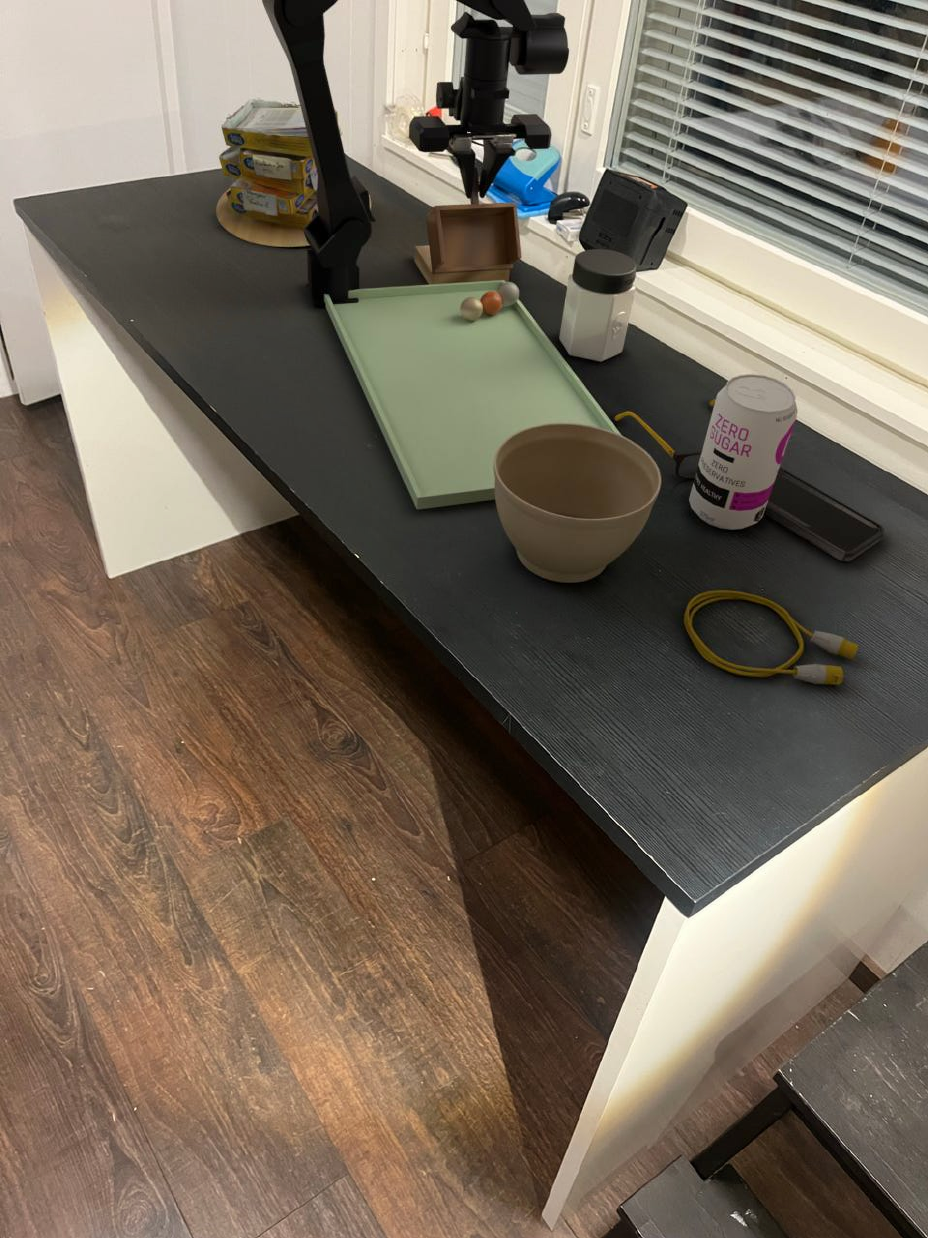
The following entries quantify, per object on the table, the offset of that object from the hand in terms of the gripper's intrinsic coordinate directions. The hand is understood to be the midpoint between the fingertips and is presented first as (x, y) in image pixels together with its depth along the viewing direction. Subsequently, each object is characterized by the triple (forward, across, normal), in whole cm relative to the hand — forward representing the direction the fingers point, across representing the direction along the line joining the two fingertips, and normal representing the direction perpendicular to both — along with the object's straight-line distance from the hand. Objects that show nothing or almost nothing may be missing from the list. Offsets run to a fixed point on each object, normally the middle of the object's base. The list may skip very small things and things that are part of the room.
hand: (474, 197), depth 134 cm
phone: (+12, -19, +63) cm, 67 cm away
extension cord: (+12, -3, +80) cm, 81 cm away
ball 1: (+10, +4, +12) cm, 16 cm away
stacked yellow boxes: (+13, +21, -28) cm, 37 cm away
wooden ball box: (+5, 0, -2) cm, 5 cm away
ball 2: (+10, 0, +11) cm, 15 cm away
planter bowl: (+12, +11, +63) cm, 65 cm away
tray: (+12, +9, +28) cm, 32 cm away
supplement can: (+12, -10, +60) cm, 62 cm away
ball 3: (+10, -3, +10) cm, 14 cm away
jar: (+12, -11, +22) cm, 27 cm away
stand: (+13, 0, -3) cm, 13 cm away
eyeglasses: (+12, -14, +47) cm, 50 cm away
